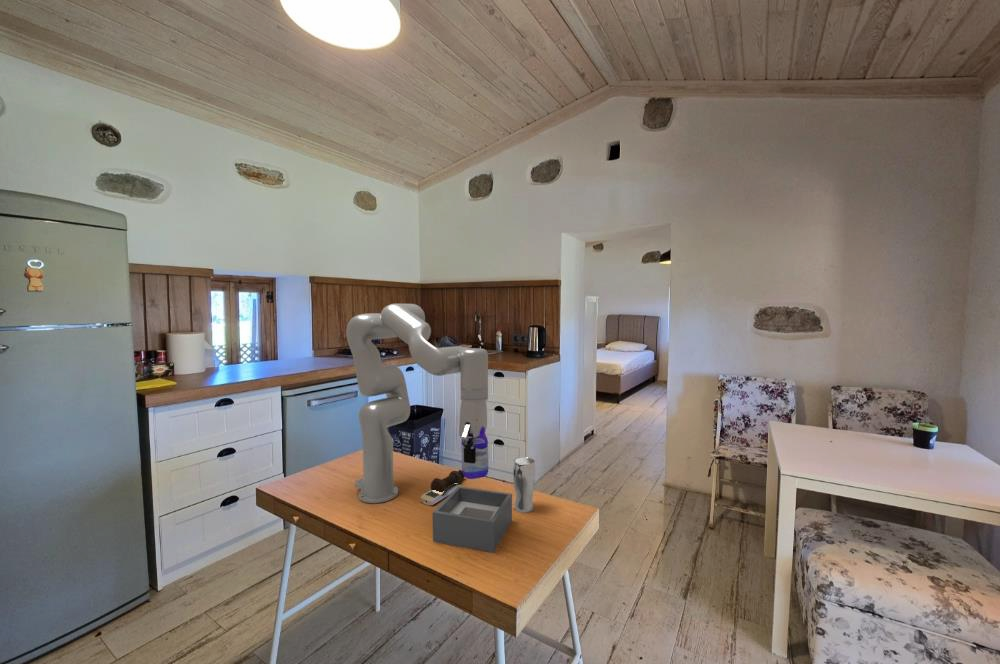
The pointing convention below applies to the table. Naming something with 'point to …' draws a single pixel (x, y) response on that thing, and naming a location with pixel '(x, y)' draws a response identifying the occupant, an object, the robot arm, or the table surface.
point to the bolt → (447, 481)
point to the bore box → (473, 518)
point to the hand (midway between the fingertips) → (474, 457)
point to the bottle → (477, 458)
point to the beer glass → (524, 483)
